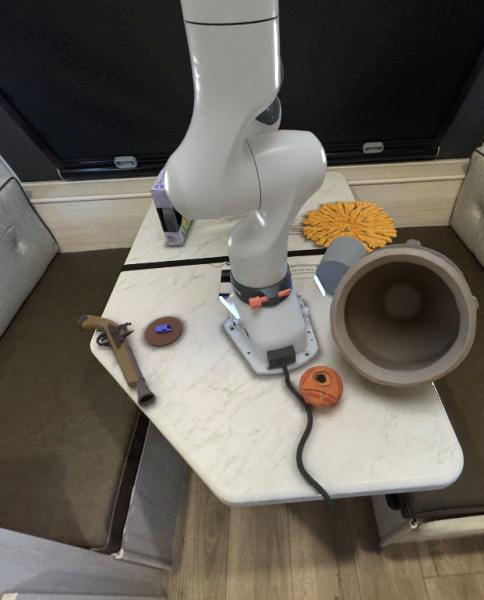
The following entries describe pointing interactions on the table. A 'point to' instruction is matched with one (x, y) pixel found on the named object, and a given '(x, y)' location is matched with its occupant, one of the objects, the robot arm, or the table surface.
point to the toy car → (163, 331)
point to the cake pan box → (169, 214)
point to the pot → (321, 386)
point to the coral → (350, 224)
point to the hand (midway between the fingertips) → (245, 164)
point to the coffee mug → (338, 261)
